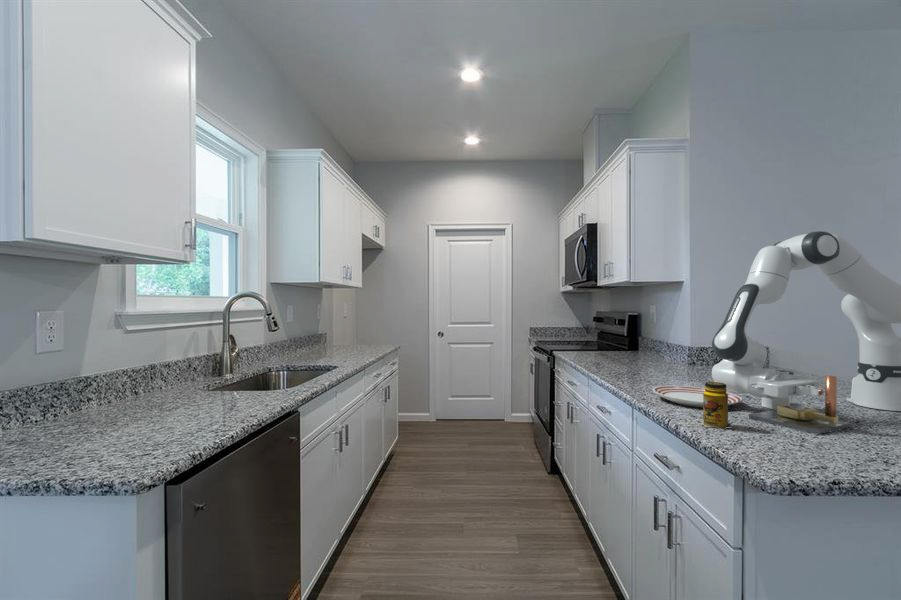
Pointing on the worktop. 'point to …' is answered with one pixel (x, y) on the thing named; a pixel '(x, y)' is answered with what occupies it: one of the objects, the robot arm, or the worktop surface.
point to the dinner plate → (689, 395)
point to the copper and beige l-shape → (813, 413)
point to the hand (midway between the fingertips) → (820, 392)
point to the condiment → (715, 405)
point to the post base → (799, 421)
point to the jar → (777, 399)
